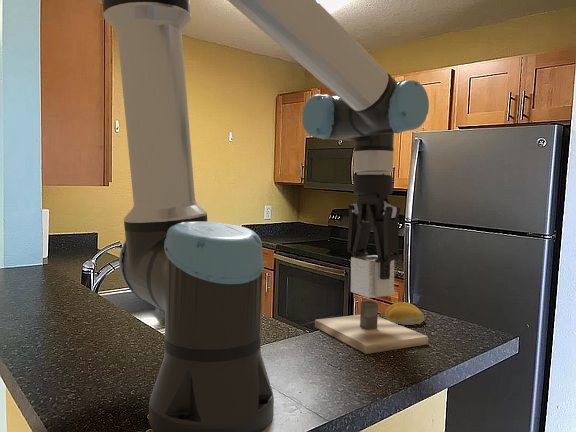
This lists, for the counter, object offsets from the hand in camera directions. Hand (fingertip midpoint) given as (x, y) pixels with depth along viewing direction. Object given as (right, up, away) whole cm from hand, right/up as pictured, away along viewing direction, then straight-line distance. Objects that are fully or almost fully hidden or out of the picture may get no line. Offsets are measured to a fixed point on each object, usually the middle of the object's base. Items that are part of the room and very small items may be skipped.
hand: (370, 291), depth 93 cm
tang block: (0, -8, 0) cm, 9 cm away
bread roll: (+9, -9, +12) cm, 18 cm away
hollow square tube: (0, 0, 0) cm, 0 cm away
